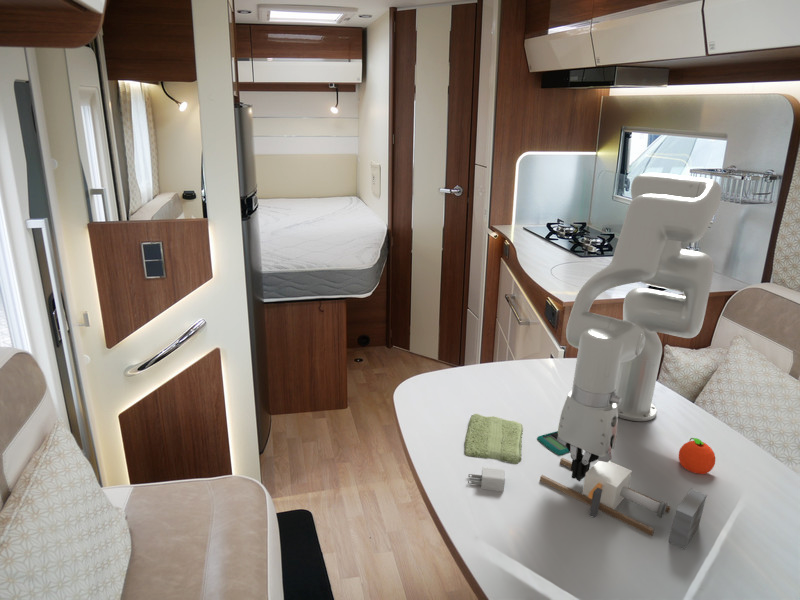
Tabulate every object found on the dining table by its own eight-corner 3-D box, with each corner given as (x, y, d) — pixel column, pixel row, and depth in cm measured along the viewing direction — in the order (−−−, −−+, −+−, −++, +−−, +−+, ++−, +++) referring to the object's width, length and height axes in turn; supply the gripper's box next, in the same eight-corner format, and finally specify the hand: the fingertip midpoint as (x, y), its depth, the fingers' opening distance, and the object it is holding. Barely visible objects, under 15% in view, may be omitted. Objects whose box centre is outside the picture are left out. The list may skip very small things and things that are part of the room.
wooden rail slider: (553, 459, 127) (558, 426, 124) (701, 528, 108) (711, 490, 106) (519, 488, 117) (523, 453, 114) (675, 569, 98) (685, 529, 96)
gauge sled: (597, 481, 118) (601, 457, 116) (667, 513, 109) (673, 489, 108) (571, 507, 110) (575, 482, 108) (645, 544, 101) (651, 518, 100)
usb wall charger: (502, 498, 114) (504, 480, 113) (466, 493, 115) (468, 476, 114) (502, 485, 118) (504, 468, 116) (467, 480, 119) (469, 463, 117)
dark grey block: (593, 511, 109) (597, 487, 107) (597, 513, 109) (602, 489, 107) (589, 515, 108) (593, 491, 106) (594, 517, 108) (598, 493, 106)
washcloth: (523, 428, 139) (524, 416, 138) (522, 472, 123) (523, 459, 122) (467, 420, 141) (468, 408, 140) (459, 463, 125) (460, 449, 124)
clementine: (668, 458, 129) (675, 429, 127) (701, 460, 129) (708, 431, 127) (683, 480, 122) (690, 450, 119) (717, 483, 121) (725, 453, 119)
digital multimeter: (607, 447, 133) (609, 435, 132) (557, 463, 126) (558, 451, 125) (583, 431, 139) (585, 420, 138) (534, 446, 132) (535, 434, 131)
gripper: (640, 401, 108) (623, 485, 114) (565, 374, 118) (554, 453, 124) (623, 415, 103) (606, 503, 109) (546, 386, 112) (535, 468, 118)
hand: (578, 476), depth 116 cm, fingers closed
